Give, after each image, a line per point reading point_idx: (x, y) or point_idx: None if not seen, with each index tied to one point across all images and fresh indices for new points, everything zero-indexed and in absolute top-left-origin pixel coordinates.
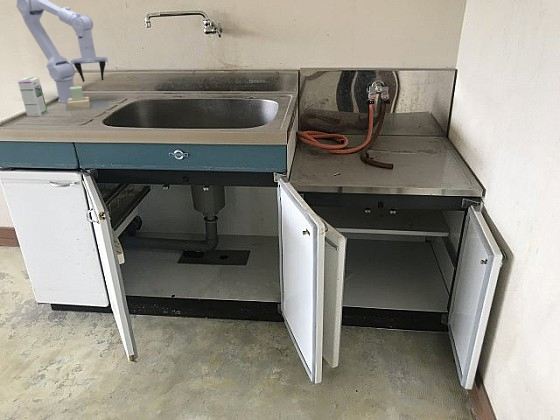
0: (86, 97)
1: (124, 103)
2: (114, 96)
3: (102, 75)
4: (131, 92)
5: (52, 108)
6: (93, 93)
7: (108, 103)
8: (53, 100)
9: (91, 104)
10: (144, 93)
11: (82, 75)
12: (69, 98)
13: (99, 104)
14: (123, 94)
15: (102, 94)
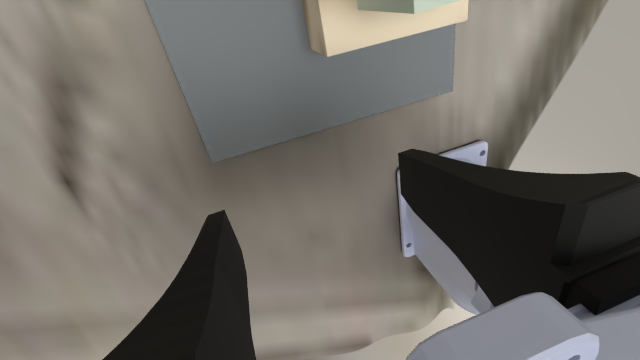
0: (340, 28)
1: (16, 53)
2: None
3: (203, 242)
4: None
5: (519, 5)
6: (339, 309)
7: (155, 23)
8: None
9: (294, 18)
10: (12, 337)
11: (447, 168)
12: (460, 20)
13: (227, 2)
14: None
15: (291, 297)
